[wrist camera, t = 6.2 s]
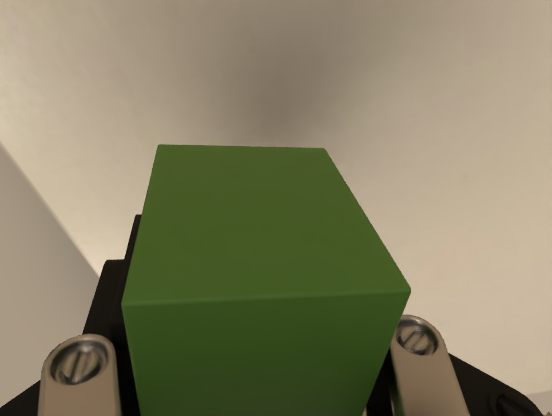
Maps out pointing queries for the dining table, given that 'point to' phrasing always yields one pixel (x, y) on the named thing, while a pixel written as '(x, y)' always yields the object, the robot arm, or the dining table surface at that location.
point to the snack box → (257, 287)
